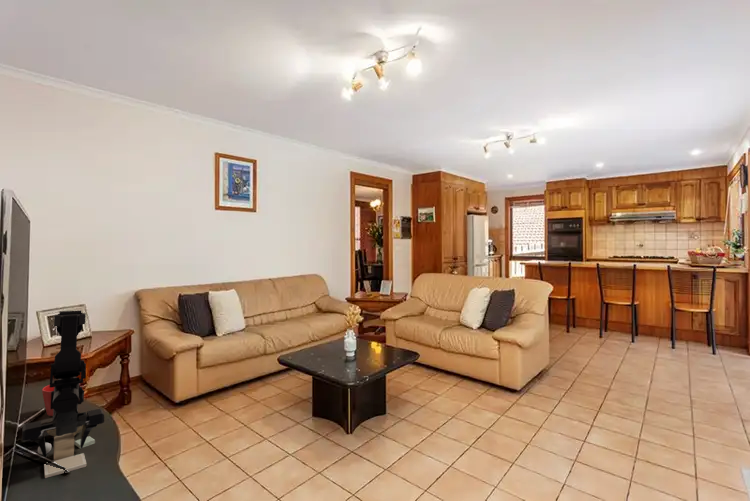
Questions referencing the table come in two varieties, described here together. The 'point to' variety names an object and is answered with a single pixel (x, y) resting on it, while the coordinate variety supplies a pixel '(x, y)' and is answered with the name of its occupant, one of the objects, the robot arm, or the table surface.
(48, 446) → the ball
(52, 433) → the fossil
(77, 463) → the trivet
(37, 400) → the table surface
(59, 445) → the block
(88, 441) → the tile
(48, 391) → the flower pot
